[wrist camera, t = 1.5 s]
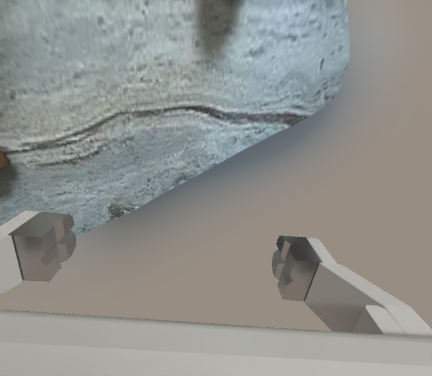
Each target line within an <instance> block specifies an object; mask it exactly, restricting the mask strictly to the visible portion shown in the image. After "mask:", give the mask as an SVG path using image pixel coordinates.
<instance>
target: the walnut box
mask: <svg viewBox="0 0 432 376" xmlns="http://www.w3.org/2000/svg"><path fill="white" fill-rule="evenodd" d="M9 162H10V161H9V160H8V158H7V157H6V156H5V155H4V154H3V152H2V151H1V150H0V168H2V167H3V166H5V165H6V164H8V163H9Z"/></svg>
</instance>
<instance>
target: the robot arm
mask: <svg viewBox="0 0 432 376" xmlns="http://www.w3.org/2000/svg"><path fill="white" fill-rule="evenodd" d="M73 226H74V220H73V217H72V216H71V215H67V214H58V213H50V212H41V211H24V212H22V213H21V214H19V215H18V216H16V217H15V218H13V219H11V220H10V221H8V222H7V223H5V224H4V225H2V226H1V227H0V294H2V293H4V292H5V291H7V290H9V289H11V288H12V287H14V286H16V285H17V284H19V283H21V282H23V280H29V281H50V280H51V279H52V278H53V277H54V275H55V274H56V273H57V272H58V271H59V269H60V268H61V266H60V263H61V262H64V261H66V260H68V259H69V258H70V256H71V255H72V254H73V251H74V249H75V246H76V235H75V234H74V233H73V232H72V230H71V229H72V227H73ZM276 244H277V247H278V250H277V251H276V252H274V255H273V259H272V268H273V274H274V276H275V277H276V278H277V279H278V280H279V282H278V288H279V291H280V293H281V296H282V299H286V300H296V301H305V304H306V305H307V306H308V307H309V308H310V309H311V310H312V311H313V312H314V313H315V314H316V315H317V316H318V317H319V318H320V319H321V320H322V321H323V322H324V323H325V324H326V325H327V326H328V327H329V328H330V329H331V331H319V330H302V329H287V328H273V327H258V326H243V325H229V324H214V323H198V322H184V321H168V320H153V319H152V320H151V319H137V318H122V317H106V316H91V315H75V314H60V313H45V312H29V311H14V310H0V376H432V330H431V329H430V328H429V326H428V325H427V324H426V323H425V322H424V321H423V320H422V319H421V318H420V317H419V316H418V315H417V314H416V313H415V311H414V310H413V309H412V308H411V307H409V306H408V305H406V304H405V303H403V302H401V301H400V300H398V299H396V298H395V297H393V296H391V295H390V294H388V293H386V292H385V291H383V290H382V289H380V288H378V287H377V286H375V285H373V284H372V283H370V282H369V281H367V280H365V279H364V278H362V277H360V276H359V275H357V274H356V273H354V272H352V271H351V270H349V269H347V268H346V267H344V266H342V265H340V264H336V262H335V261H334V259H333V258H332V257H331V256H330V254H329V253H328V251H327V250H326V249H325V247H324V246H323V245H322V243H321V242H320V241H319V239H317V238H310V237H293V236H279V238H278V240H277V243H276Z"/></svg>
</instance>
